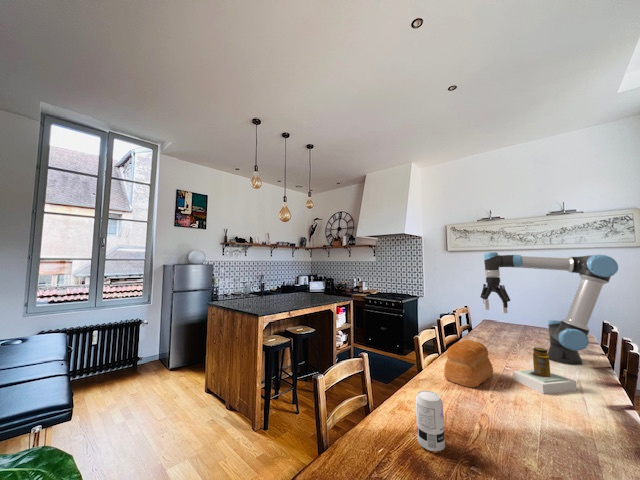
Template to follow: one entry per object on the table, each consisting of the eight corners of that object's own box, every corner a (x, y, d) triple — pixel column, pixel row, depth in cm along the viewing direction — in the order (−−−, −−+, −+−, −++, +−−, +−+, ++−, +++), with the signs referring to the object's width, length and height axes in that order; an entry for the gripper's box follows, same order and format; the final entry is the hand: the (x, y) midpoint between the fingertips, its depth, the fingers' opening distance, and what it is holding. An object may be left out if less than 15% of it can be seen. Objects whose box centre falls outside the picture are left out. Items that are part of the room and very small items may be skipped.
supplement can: (413, 437, 88) (411, 390, 90) (436, 435, 89) (434, 389, 90) (424, 454, 80) (422, 402, 82) (450, 452, 81) (447, 401, 82)
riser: (543, 376, 134) (542, 367, 135) (576, 390, 120) (575, 379, 120) (513, 379, 131) (512, 370, 132) (543, 394, 116) (542, 383, 117)
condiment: (554, 375, 125) (552, 349, 126) (546, 379, 120) (544, 352, 122) (535, 370, 131) (533, 345, 132) (528, 374, 127) (525, 348, 128)
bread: (441, 379, 133) (439, 344, 134) (464, 367, 149) (462, 335, 150) (474, 391, 120) (472, 352, 122) (496, 375, 136) (493, 341, 138)
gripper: (472, 276, 177) (475, 308, 175) (504, 277, 153) (507, 315, 151) (482, 276, 179) (485, 307, 176) (515, 277, 154) (519, 314, 152)
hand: (495, 311), depth 164 cm, fingers open, 13 cm apart
